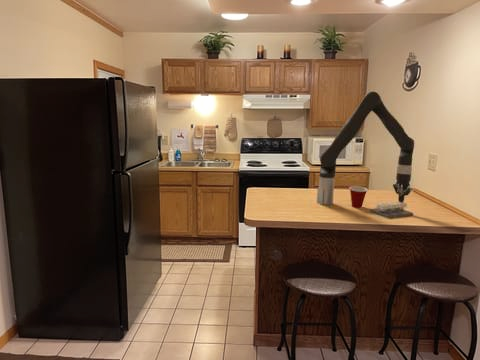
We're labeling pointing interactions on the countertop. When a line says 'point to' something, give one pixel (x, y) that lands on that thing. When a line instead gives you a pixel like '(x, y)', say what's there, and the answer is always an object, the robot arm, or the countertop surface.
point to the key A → (382, 207)
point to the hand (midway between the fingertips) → (401, 201)
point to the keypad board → (392, 212)
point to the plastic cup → (357, 195)
